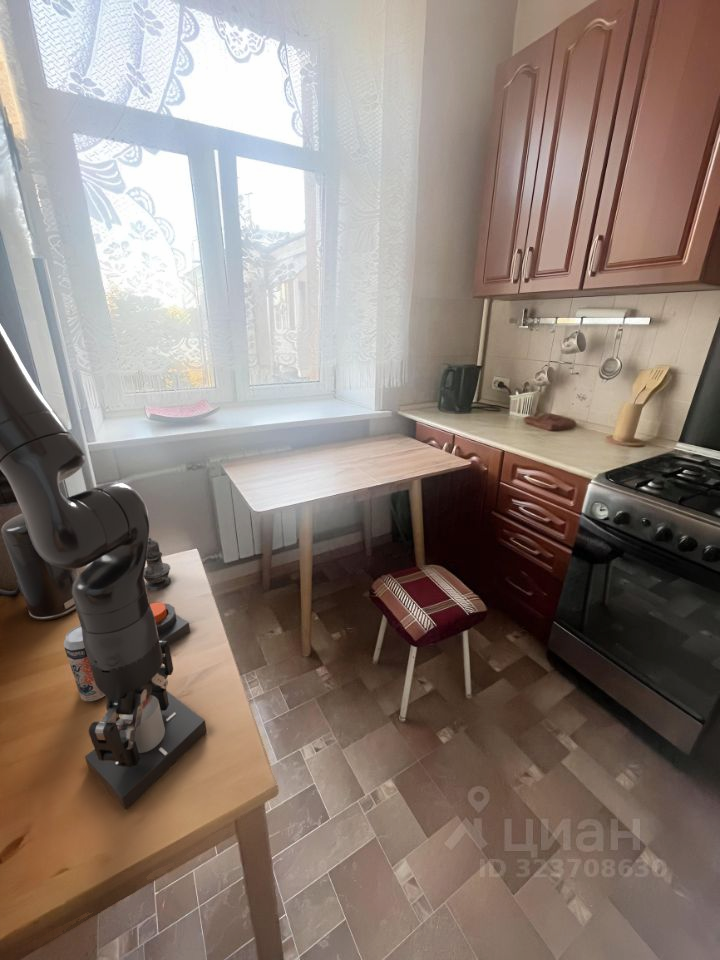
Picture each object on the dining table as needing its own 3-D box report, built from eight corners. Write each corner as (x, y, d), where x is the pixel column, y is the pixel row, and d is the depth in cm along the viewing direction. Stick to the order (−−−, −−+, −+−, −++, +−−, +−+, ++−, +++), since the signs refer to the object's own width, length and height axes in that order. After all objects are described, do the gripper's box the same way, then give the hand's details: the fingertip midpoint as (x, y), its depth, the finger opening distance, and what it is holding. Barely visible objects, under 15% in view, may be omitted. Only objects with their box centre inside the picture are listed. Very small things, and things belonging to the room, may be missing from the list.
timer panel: (88, 768, 53) (84, 755, 52) (169, 702, 62) (167, 689, 61) (125, 810, 49) (121, 797, 48) (207, 732, 58) (205, 719, 57)
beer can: (73, 696, 63) (54, 638, 58) (102, 674, 67) (85, 618, 62) (94, 707, 61) (76, 648, 57) (122, 683, 65) (107, 627, 61)
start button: (139, 618, 74) (137, 611, 74) (158, 607, 77) (157, 599, 77) (151, 627, 72) (150, 619, 72) (171, 614, 75) (169, 607, 75)
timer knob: (155, 753, 52) (148, 723, 50) (122, 753, 52) (114, 723, 50) (170, 722, 57) (164, 693, 54) (139, 722, 56) (132, 692, 54)
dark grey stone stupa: (161, 593, 87) (152, 546, 82) (138, 589, 88) (128, 542, 83) (178, 577, 92) (170, 532, 88) (155, 573, 93) (147, 529, 89)
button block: (125, 632, 76) (121, 615, 74) (159, 611, 81) (156, 596, 80) (156, 654, 71) (153, 637, 70) (190, 631, 77) (187, 615, 75)
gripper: (127, 602, 55) (147, 687, 61) (48, 691, 42) (84, 789, 48) (180, 604, 55) (195, 690, 61) (118, 694, 41) (145, 793, 48)
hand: (146, 733), depth 54 cm, fingers open, 7 cm apart
